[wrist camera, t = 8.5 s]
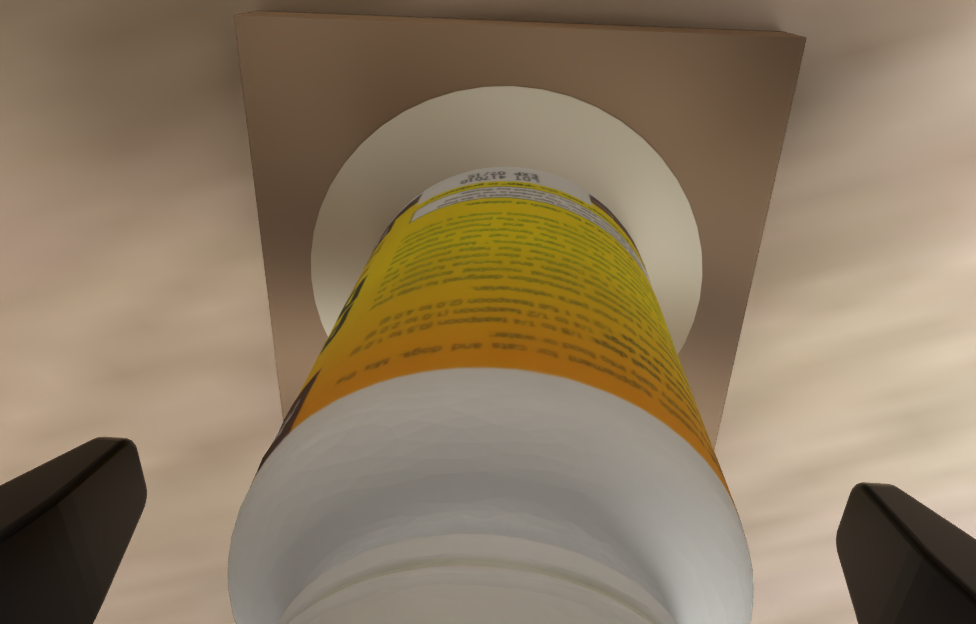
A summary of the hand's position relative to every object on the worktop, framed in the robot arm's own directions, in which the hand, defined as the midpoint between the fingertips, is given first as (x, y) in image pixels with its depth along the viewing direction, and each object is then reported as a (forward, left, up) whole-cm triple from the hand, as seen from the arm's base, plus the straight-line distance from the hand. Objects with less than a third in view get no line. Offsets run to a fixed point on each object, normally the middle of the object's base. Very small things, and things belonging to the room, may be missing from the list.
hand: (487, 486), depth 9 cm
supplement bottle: (0, 0, -6) cm, 6 cm away
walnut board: (0, 0, -8) cm, 8 cm away
